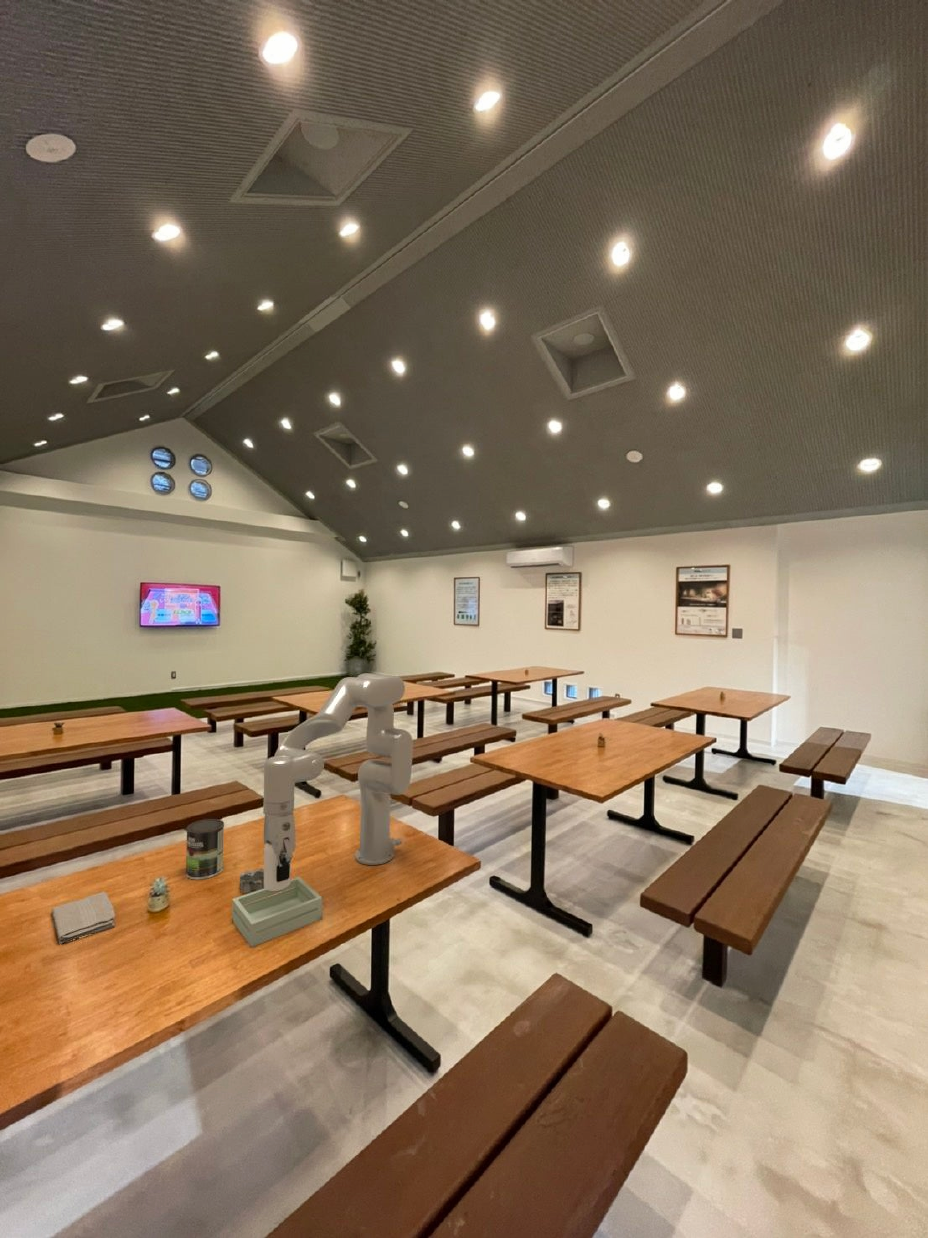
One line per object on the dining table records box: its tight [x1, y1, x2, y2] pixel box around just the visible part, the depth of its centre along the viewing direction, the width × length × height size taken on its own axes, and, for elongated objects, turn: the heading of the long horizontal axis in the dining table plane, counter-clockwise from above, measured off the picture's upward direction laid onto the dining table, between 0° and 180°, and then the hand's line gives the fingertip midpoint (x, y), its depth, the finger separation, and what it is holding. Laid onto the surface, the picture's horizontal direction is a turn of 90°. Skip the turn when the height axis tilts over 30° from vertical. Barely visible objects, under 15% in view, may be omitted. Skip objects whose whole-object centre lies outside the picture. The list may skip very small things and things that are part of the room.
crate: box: [231, 876, 323, 948], centre depth 136 cm, size 18×14×6 cm
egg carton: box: [238, 867, 264, 895], centre depth 152 cm, size 11×8×4 cm
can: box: [263, 841, 292, 892], centre depth 136 cm, size 6×6×12 cm
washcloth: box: [50, 891, 116, 945], centre depth 134 cm, size 12×18×3 cm, turn 44°
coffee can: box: [185, 818, 225, 881], centre depth 159 cm, size 10×10×14 cm
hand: (277, 874), depth 135 cm, fingers closed on can, 6 cm apart
